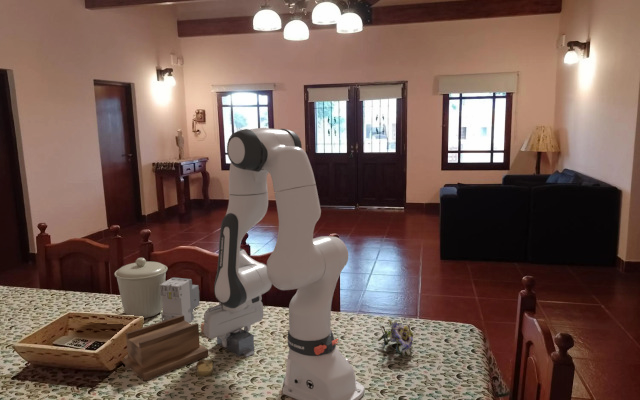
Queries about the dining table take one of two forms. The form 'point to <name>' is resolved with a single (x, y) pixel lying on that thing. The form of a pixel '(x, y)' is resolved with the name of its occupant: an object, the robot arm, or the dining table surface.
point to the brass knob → (204, 368)
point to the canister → (141, 287)
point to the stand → (163, 347)
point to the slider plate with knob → (239, 342)
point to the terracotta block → (202, 327)
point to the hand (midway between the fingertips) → (235, 342)
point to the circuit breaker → (179, 298)
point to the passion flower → (398, 337)
